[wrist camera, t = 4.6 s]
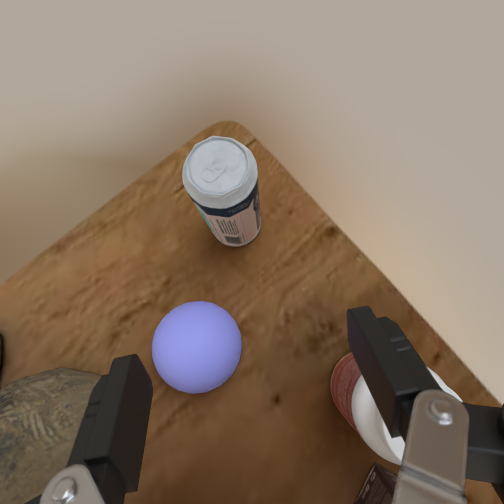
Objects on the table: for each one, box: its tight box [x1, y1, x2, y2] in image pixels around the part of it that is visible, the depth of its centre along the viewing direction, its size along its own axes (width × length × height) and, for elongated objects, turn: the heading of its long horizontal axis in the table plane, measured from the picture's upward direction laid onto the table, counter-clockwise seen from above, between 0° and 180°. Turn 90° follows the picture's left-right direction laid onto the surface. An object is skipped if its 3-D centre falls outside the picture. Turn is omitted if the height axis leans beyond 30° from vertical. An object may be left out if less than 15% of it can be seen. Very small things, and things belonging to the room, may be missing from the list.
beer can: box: [182, 136, 261, 246], centre depth 26 cm, size 5×5×12 cm
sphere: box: [152, 301, 242, 394], centre depth 26 cm, size 7×7×7 cm
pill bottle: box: [331, 352, 463, 465], centre depth 23 cm, size 6×6×11 cm
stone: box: [0, 368, 102, 504], centre depth 25 cm, size 17×9×8 cm, turn 118°
